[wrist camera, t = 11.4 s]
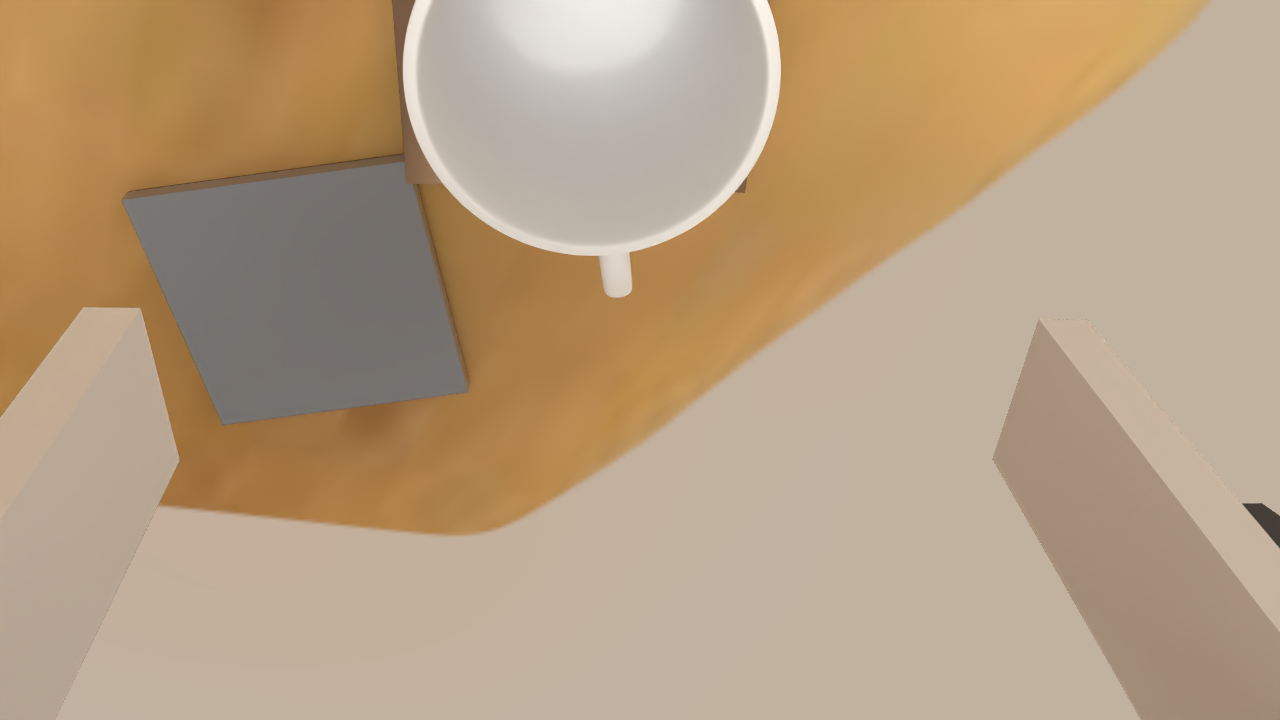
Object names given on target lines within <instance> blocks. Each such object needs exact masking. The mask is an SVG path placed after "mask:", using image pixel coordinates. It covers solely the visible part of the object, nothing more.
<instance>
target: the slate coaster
mask: <svg viewBox="0 0 1280 720" xmlns="http://www.w3.org/2000/svg"><path fill="white" fill-rule="evenodd" d="M122 202H123V204H124V207H125V209H126V211H127V213H128V216H129V218H130V220H131V222H132V224H133V227H134V229H135V231H136V233H137V236H138V238H139V240H140V242H141V244H142V247H143V249H144V251H145V253H146V256H147V258H148V260H149V262H150V264H151V267H152V269H153V271H154V273H155V276H156V278H157V280H158V282H159V284H160V287H161V289H162V291H163V293H164V296H165V298H166V300H167V302H168V304H169V307H170V309H171V311H172V313H173V316H174V318H175V320H176V322H177V325H178V327H179V329H180V331H181V333H182V336H183V338H184V340H185V342H186V345H187V347H188V349H189V351H190V353H191V356H192V358H193V360H194V362H195V365H196V367H197V369H198V371H199V373H200V376H201V378H202V380H203V382H204V385H205V387H206V389H207V391H208V393H209V396H210V398H211V400H212V402H213V405H214V407H215V409H216V411H217V413H218V416H219V418H220V420H221V422H222V425H228V424H235V423H243V422H250V421H258V420H265V419H273V418H280V417H288V416H295V415H302V414H310V413H317V412H325V411H332V410H340V409H347V408H355V407H362V406H370V405H377V404H384V403H392V402H399V401H407V400H414V399H422V398H429V397H437V396H444V395H451V394H459V393H466V392H468V388H469V379H468V375H467V372H466V368H465V364H464V360H463V356H462V353H461V349H460V345H459V341H458V337H457V334H456V330H455V326H454V322H453V318H452V314H451V311H450V307H449V303H448V299H447V295H446V292H445V288H444V284H443V280H442V276H441V273H440V269H439V265H438V261H437V257H436V254H435V250H434V246H433V242H432V238H431V234H430V231H429V227H428V223H427V219H426V215H425V212H424V208H423V204H422V200H421V196H420V193H419V189H418V185H417V184H406V172H405V159H404V154H401V155H394V156H386V157H379V158H372V159H364V160H357V161H350V162H342V163H335V164H328V165H320V166H313V167H306V168H298V169H291V170H284V171H276V172H269V173H262V174H254V175H247V176H240V177H232V178H225V179H218V180H210V181H203V182H196V183H188V184H181V185H174V186H166V187H159V188H152V189H144V190H137V191H130V192H128V193H127V194H126V195H125V197H124V198H123V199H122Z"/></svg>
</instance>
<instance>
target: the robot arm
mask: <svg viewBox="0 0 1280 720" xmlns="http://www.w3.org/2000/svg"><path fill="white" fill-rule="evenodd" d="M179 461H180V459H179V455H178V451H177V448H176V444H175V440H174V436H173V432H172V428H171V424H170V420H169V416H168V412H167V409H166V405H165V401H164V397H163V393H162V389H161V385H160V381H159V377H158V373H157V370H156V366H155V362H154V358H153V354H152V350H151V346H150V342H149V338H148V334H147V331H146V327H145V323H144V319H143V315H142V311H141V308H105V307H83V308H82V310H81V311H80V312H79V314H78V315H77V316H76V318H75V319H74V320H73V322H72V323H71V324H70V326H69V327H68V328H67V330H66V331H65V332H64V334H63V335H62V336H61V338H60V339H59V340H58V342H57V343H56V344H55V346H54V347H53V348H52V350H51V351H50V352H49V354H48V355H47V356H46V358H45V359H44V360H43V362H42V363H41V364H40V366H39V367H38V368H37V370H36V371H35V372H34V374H33V375H32V376H31V378H30V379H29V380H28V381H27V383H26V384H25V385H24V387H23V388H22V389H21V391H20V392H19V393H18V395H17V396H16V397H15V399H14V400H13V401H12V403H11V404H10V405H9V407H8V408H7V409H6V411H5V412H4V413H3V415H2V416H1V417H0V720H55V719H56V717H57V715H58V713H59V711H60V709H61V706H62V704H63V702H64V700H65V698H66V696H67V694H68V692H69V690H70V688H71V686H72V684H73V682H74V680H75V677H76V675H77V673H78V671H79V669H80V667H81V665H82V663H83V661H84V659H85V656H86V654H87V652H88V650H89V648H90V646H91V644H92V642H93V640H94V638H95V636H96V634H97V632H98V629H99V627H100V625H101V623H102V621H103V619H104V617H105V615H106V613H107V611H108V608H109V607H110V604H111V602H112V600H113V598H114V596H115V594H116V592H117V590H118V588H119V585H120V583H121V581H122V579H123V577H124V575H125V573H126V571H127V569H128V566H129V565H130V563H131V560H132V558H133V557H134V554H135V552H136V550H137V548H138V546H139V544H140V542H141V540H142V538H143V536H144V534H145V531H146V529H147V527H148V525H149V523H150V521H151V519H152V517H153V515H154V512H155V511H156V509H157V506H158V504H159V502H160V500H161V498H162V496H163V494H164V492H165V490H166V488H167V486H168V484H169V481H170V479H171V477H172V475H173V473H174V471H175V469H176V467H177V465H178V463H179ZM993 461H994V463H995V464H996V466H997V468H998V470H999V471H1000V473H1001V475H1002V477H1003V478H1004V480H1005V482H1006V484H1007V485H1008V487H1009V489H1010V491H1011V492H1012V494H1013V496H1014V498H1015V499H1016V501H1017V503H1018V505H1019V507H1020V508H1021V510H1022V512H1023V513H1024V515H1025V517H1026V519H1027V521H1028V522H1029V524H1030V526H1031V528H1032V529H1033V531H1034V533H1035V535H1036V536H1037V538H1038V540H1039V542H1040V543H1041V545H1042V547H1043V549H1044V550H1045V552H1046V554H1047V556H1048V557H1049V559H1050V561H1051V563H1052V564H1053V566H1054V568H1055V570H1056V571H1057V573H1058V575H1059V576H1060V578H1061V580H1062V582H1063V584H1064V585H1065V587H1066V589H1067V591H1068V593H1069V594H1070V596H1071V598H1072V599H1073V601H1074V603H1075V605H1076V606H1077V608H1078V610H1079V612H1080V613H1081V615H1082V617H1083V619H1084V621H1085V622H1086V624H1087V626H1088V628H1089V629H1090V631H1091V633H1092V635H1093V636H1094V638H1095V640H1096V641H1097V643H1098V645H1099V647H1100V649H1101V650H1102V652H1103V654H1104V656H1105V657H1106V659H1107V661H1108V663H1109V664H1110V666H1111V668H1112V670H1113V671H1114V673H1115V675H1116V677H1117V678H1118V680H1119V682H1120V684H1121V686H1122V687H1123V689H1124V691H1125V693H1126V694H1127V696H1128V698H1129V700H1130V701H1131V703H1132V705H1133V706H1134V708H1135V710H1136V712H1137V714H1138V715H1139V717H1140V719H1141V720H1280V516H1279V515H1278V514H1276V513H1275V512H1273V511H1272V510H1270V509H1269V508H1268V507H1266V506H1265V505H1263V504H1262V503H1260V504H1242V503H1241V502H1240V501H1239V500H1238V499H1237V497H1236V496H1235V495H1234V494H1233V493H1232V491H1231V490H1230V489H1229V488H1228V487H1227V486H1226V484H1225V483H1224V482H1223V481H1222V480H1221V478H1220V477H1219V476H1218V475H1217V474H1216V472H1215V471H1214V470H1213V469H1212V468H1211V467H1210V465H1209V464H1208V463H1207V462H1206V461H1205V459H1204V458H1203V457H1202V456H1201V455H1200V453H1199V452H1198V451H1197V450H1196V449H1195V448H1194V446H1193V445H1192V444H1191V443H1190V442H1189V440H1188V439H1187V438H1186V437H1185V436H1184V435H1183V433H1182V432H1181V431H1180V430H1179V429H1178V427H1177V426H1176V425H1175V424H1174V423H1173V421H1172V420H1171V419H1170V418H1169V417H1168V416H1167V414H1166V413H1165V412H1164V411H1163V410H1162V408H1161V407H1160V406H1159V405H1158V404H1157V403H1156V401H1155V400H1154V399H1153V398H1152V397H1151V396H1150V394H1149V393H1148V392H1147V391H1146V389H1145V388H1144V387H1143V386H1142V385H1141V384H1140V382H1139V381H1138V380H1137V379H1136V378H1135V377H1134V375H1133V374H1132V373H1131V372H1130V370H1129V369H1128V368H1127V367H1126V366H1125V364H1124V363H1123V362H1122V361H1121V360H1120V359H1119V357H1118V356H1117V355H1116V354H1115V353H1114V351H1113V350H1112V349H1111V348H1110V347H1109V346H1108V344H1107V343H1106V342H1105V341H1104V340H1103V338H1102V337H1101V336H1100V335H1099V334H1098V332H1097V331H1096V330H1095V329H1094V328H1093V327H1092V325H1091V324H1090V323H1089V322H1088V321H1087V320H1073V319H1072V320H1068V319H1066V320H1064V319H1063V320H1062V319H1039V320H1038V323H1037V326H1036V329H1035V332H1034V335H1033V338H1032V341H1031V345H1030V347H1029V350H1028V353H1027V356H1026V359H1025V362H1024V366H1023V368H1022V371H1021V374H1020V377H1019V380H1018V383H1017V386H1016V390H1015V393H1014V396H1013V399H1012V401H1011V404H1010V407H1009V410H1008V414H1007V416H1006V419H1005V423H1004V426H1003V429H1002V432H1001V435H1000V438H999V441H998V444H997V447H996V450H995V453H994V456H993Z"/></svg>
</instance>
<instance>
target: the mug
mask: <svg viewBox="0 0 1280 720" xmlns="http://www.w3.org/2000/svg"><path fill="white" fill-rule="evenodd" d="M780 79H781V61H780V49H779V41H778V35H777V31H776V26H775V22H774V19H773V15H772V12H771V9H770V6H769V4H768V1H767V0H415V3H414V6H413V9H412V12H411V15H410V19H409V23H408V27H407V31H406V37H405V43H404V52H403V84H404V93H405V100H406V105H407V110H408V114H409V118H410V121H411V125H412V128H413V130H414V133H415V136H416V138H417V141H418V143H419V145H420V147H421V150H422V152H423V154H424V155H425V157H426V159H427V161H428V163H429V164H430V166H431V168H432V169H433V171H434V172H435V174H436V175H437V176H438V178H439V179H440V180H441V182H442V183H443V184H444V186H445V187H446V188H447V189H448V190H449V191H450V193H451V194H452V195H453V196H454V197H455V198H456V199H457V200H458V201H459V202H460V203H461V204H462V205H463V206H464V207H465V208H467V209H468V210H469V211H470V212H471V213H473V214H474V215H475V216H476V217H478V218H479V219H480V220H482V221H483V222H485V223H486V224H488V225H489V226H491V227H492V228H494V229H496V230H497V231H499V232H501V233H503V234H505V235H507V236H509V237H511V238H513V239H515V240H518V241H520V242H523V243H525V244H528V245H531V246H534V247H537V248H540V249H544V250H548V251H553V252H558V253H563V254H571V255H584V256H599V262H600V269H601V276H602V283H603V288H604V291H605V293H606V294H607V295H608V296H610V297H614V298H619V297H624V296H626V295H628V294H629V293H630V292H631V291H632V274H631V263H630V252H632V251H637V250H641V249H644V248H648V247H651V246H654V245H657V244H660V243H662V242H665V241H667V240H669V239H672V238H674V237H676V236H678V235H680V234H682V233H684V232H686V231H687V230H689V229H691V228H692V227H694V226H696V225H697V224H699V223H700V222H701V221H703V220H704V219H706V218H707V217H708V216H710V215H711V214H712V213H713V212H715V211H716V210H717V209H718V208H719V207H720V206H721V205H722V204H723V203H724V202H726V201H727V200H728V199H729V197H730V196H731V195H732V194H733V193H734V192H735V191H736V190H737V189H738V187H739V186H740V185H741V184H742V182H743V181H744V180H745V178H746V177H747V176H748V174H749V173H750V171H751V170H752V168H753V166H754V165H755V163H756V161H757V160H758V158H759V156H760V154H761V152H762V150H763V148H764V146H765V143H766V141H767V139H768V136H769V133H770V131H771V128H772V124H773V121H774V118H775V114H776V109H777V104H778V99H779V91H780Z"/></svg>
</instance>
